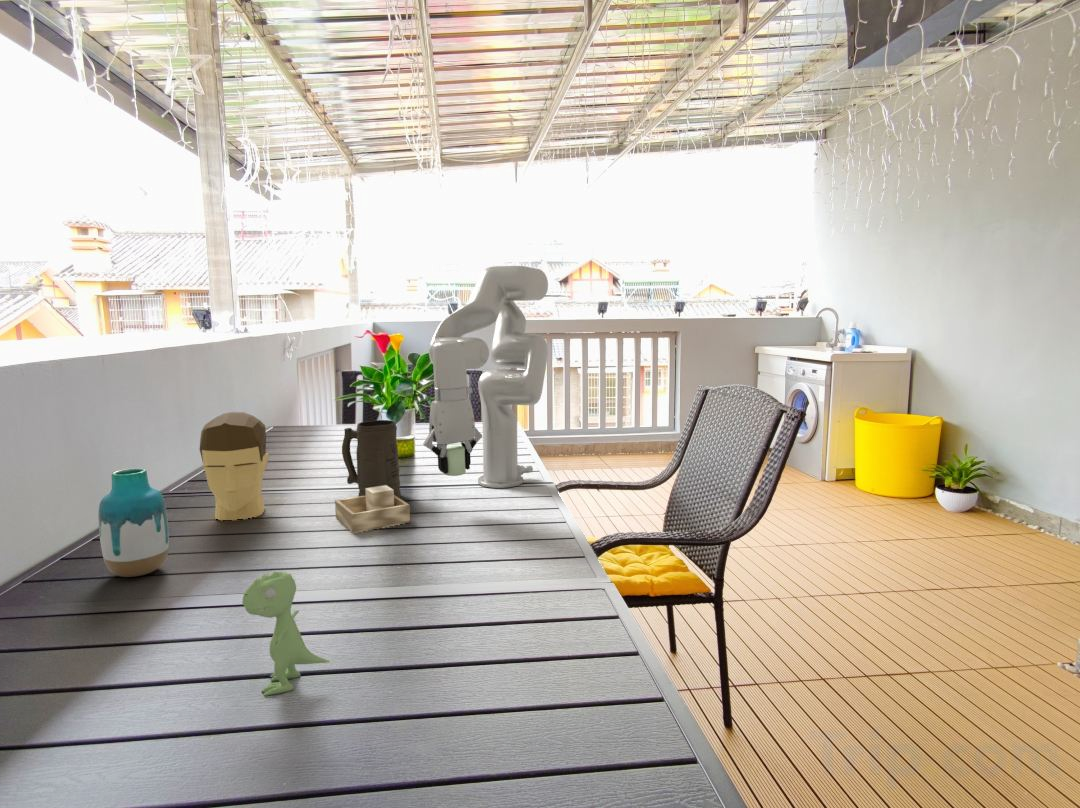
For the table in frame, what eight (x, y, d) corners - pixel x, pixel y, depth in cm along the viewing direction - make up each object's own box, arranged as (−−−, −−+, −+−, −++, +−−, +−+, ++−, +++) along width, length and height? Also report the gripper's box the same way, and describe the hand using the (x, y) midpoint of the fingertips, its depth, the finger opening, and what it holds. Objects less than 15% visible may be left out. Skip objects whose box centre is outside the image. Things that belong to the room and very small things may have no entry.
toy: (247, 684, 85) (238, 573, 82) (305, 660, 90) (298, 555, 88) (270, 707, 80) (261, 590, 77) (330, 680, 85) (323, 570, 83)
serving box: (389, 509, 159) (389, 491, 159) (410, 523, 149) (409, 504, 148) (335, 518, 152) (334, 500, 152) (353, 533, 142) (352, 514, 141)
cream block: (387, 509, 157) (386, 485, 156) (394, 514, 153) (393, 489, 152) (366, 513, 154) (365, 488, 153) (373, 518, 150) (372, 493, 149)
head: (193, 530, 140) (188, 412, 140) (212, 516, 160) (208, 413, 160) (263, 523, 143) (258, 409, 144) (273, 511, 164) (269, 411, 164)
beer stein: (409, 492, 174) (401, 417, 171) (396, 503, 163) (388, 424, 161) (353, 494, 176) (344, 421, 173) (337, 506, 165) (327, 428, 162)
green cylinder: (459, 468, 159) (458, 444, 158) (469, 473, 155) (468, 448, 154) (440, 472, 156) (439, 447, 155) (449, 477, 152) (448, 452, 151)
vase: (185, 566, 124) (176, 467, 121) (134, 588, 114) (123, 481, 111) (142, 559, 127) (133, 463, 125) (90, 580, 117) (78, 476, 115)
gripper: (476, 388, 160) (479, 461, 163) (410, 396, 151) (414, 472, 154) (491, 392, 154) (494, 467, 157) (423, 401, 145) (427, 480, 148)
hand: (454, 469), depth 156 cm, fingers closed on green cylinder, 4 cm apart
